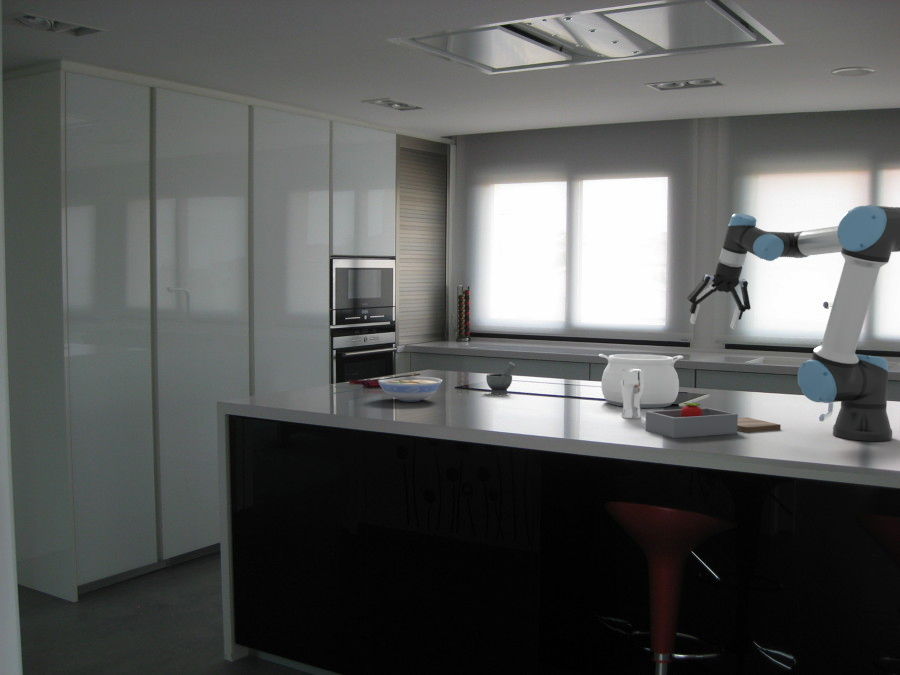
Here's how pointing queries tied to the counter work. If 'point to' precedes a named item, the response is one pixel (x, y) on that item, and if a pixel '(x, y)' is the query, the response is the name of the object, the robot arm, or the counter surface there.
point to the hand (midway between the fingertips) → (712, 325)
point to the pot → (656, 378)
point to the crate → (691, 423)
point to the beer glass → (631, 392)
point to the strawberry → (691, 410)
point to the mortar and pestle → (500, 380)
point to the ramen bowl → (409, 387)
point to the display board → (755, 425)
